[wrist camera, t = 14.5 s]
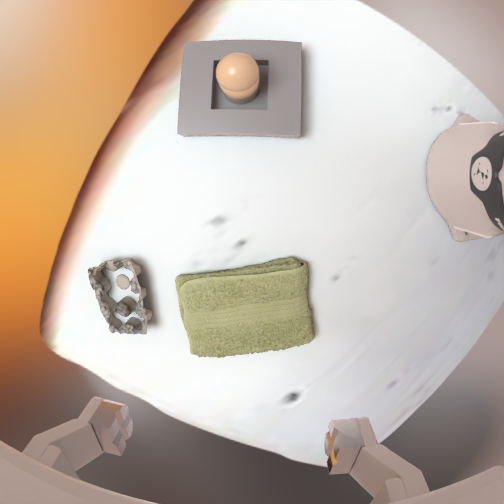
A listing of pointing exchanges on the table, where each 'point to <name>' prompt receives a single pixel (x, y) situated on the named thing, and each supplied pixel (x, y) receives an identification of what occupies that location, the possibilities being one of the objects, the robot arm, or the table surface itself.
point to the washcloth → (246, 309)
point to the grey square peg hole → (246, 115)
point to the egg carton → (127, 303)
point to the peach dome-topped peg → (238, 78)
